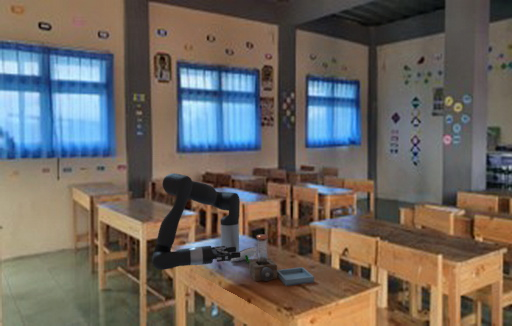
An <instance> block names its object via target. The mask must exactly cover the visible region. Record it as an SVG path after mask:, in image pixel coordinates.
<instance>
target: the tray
mask: <svg viewBox="0 0 512 326" xmlns="http://www.w3.org/2000/svg"><path fill="white" fill-rule="evenodd" d="M277 279H279V280H280V282H281V283H283V285H284V286H285V287H286V286H287V287H290V286H297V285H304V284H312V283H314V282H315V275H313V274H311V273H310V271H308V270H307V269H306V268H304V267H303V266H302V267H294V268H293V267H292V268H291V267H290V268H283V269H277Z"/></svg>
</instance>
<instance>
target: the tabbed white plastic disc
mask: <svg viewBox="0 0 512 326" xmlns="http://www.w3.org/2000/svg"><path fill="white" fill-rule="evenodd" d="M239 252H240V258H232V259H231V261H229V263H230V262H231V263H232V262H239V260H240V261H244V260H246V262H247V263H246V264H248V265H249V260H250V258H252V257H256V256H258V253H257V250H256V248H255V247H253V246H252V247H251V246H250V247H248V248H244V249H242V250H239ZM243 259H244V260H243Z"/></svg>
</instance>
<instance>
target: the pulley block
mask: <svg viewBox="0 0 512 326" xmlns="http://www.w3.org/2000/svg"><path fill="white" fill-rule="evenodd" d="M277 270H278V265H277V263H275V262H274V260H272V258H270V257H269V258H268V257H267V264H266V265H258V259H252V260H251V259H249V264H248V271H249V272H248V274H249V273H250V274H249V275H250V276H252V277H251V278H252V279H253V281H254V280H255V281H254V282H259V281H260V280H261V281H264V282H269V281H271V280H275V279H278V277H277ZM261 281H260V282H261Z"/></svg>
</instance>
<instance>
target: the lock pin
mask: <svg viewBox="0 0 512 326" xmlns="http://www.w3.org/2000/svg"><path fill="white" fill-rule="evenodd" d="M256 239H257V260H258V265H266V264H267V259H268V241H267V240H268V234H261V233H260V234H257V235H256Z"/></svg>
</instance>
